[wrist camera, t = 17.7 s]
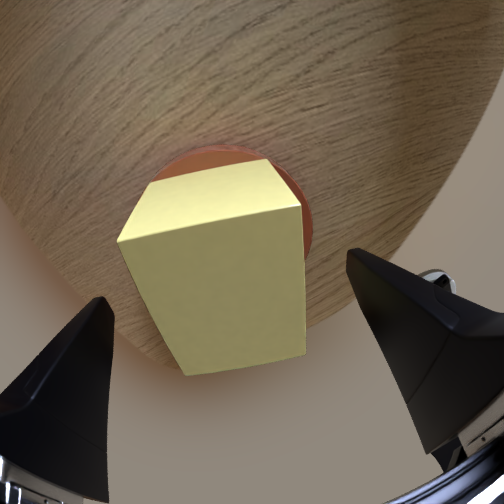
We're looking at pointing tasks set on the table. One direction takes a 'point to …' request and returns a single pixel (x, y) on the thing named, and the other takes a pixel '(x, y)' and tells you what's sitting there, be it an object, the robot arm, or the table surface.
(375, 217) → the table surface
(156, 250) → the butter slab
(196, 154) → the reddish brown disc
